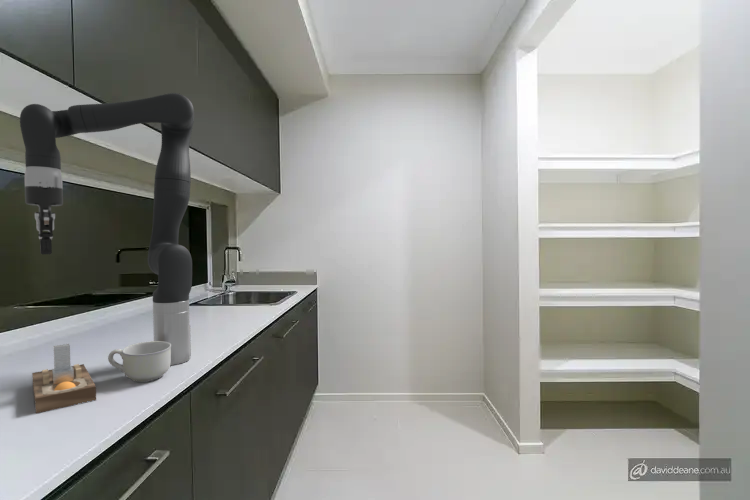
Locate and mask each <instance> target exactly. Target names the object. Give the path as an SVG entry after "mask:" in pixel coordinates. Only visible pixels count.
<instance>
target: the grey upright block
mask: <svg viewBox="0 0 750 500" xmlns="http://www.w3.org/2000/svg"><path fill="white" fill-rule="evenodd" d="M72 366H73V365H71V345H70V343H66V344H65V343H64V344H57V345H53V368H52V369H51V370H52V381H53V384H59V383H62V382H69V381H74V370H73V367H72Z"/></svg>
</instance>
